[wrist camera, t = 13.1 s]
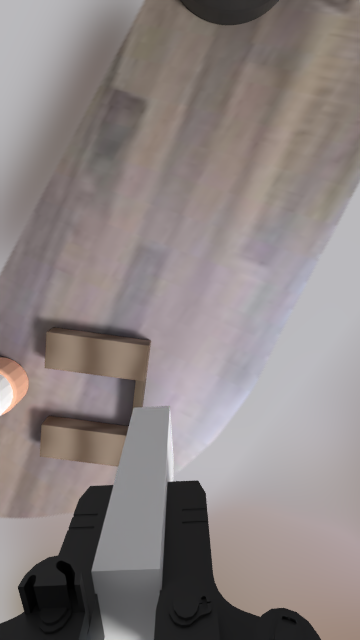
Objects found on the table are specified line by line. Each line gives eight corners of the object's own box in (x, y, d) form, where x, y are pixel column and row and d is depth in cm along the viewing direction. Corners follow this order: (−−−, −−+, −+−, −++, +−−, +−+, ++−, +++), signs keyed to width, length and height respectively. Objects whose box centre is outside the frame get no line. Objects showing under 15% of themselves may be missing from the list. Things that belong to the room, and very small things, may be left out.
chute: (150, 340, 45) (149, 345, 42) (136, 457, 49) (133, 468, 46) (54, 327, 44) (46, 331, 42) (47, 446, 48) (39, 456, 46)
